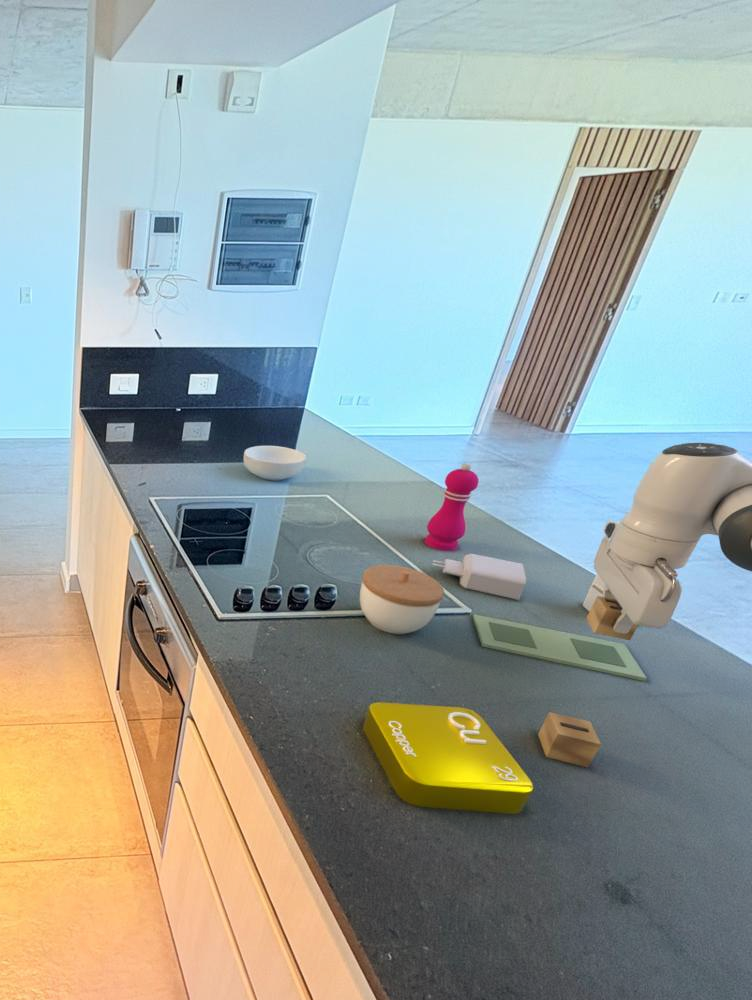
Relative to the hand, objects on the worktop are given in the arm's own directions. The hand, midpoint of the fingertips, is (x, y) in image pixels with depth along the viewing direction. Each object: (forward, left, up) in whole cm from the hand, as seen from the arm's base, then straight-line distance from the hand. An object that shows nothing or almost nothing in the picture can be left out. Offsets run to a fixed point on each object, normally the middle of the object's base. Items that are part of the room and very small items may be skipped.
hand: (612, 620), depth 101 cm
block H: (0, 0, -2) cm, 2 cm away
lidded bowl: (+31, +4, -8) cm, 32 cm away
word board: (+6, 0, -7) cm, 9 cm away
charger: (+15, -20, -8) cm, 26 cm away
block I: (+11, +29, -7) cm, 31 cm away
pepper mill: (+19, -36, -8) cm, 42 cm away
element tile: (+27, +39, -8) cm, 48 cm away
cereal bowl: (+59, -67, -8) cm, 90 cm away
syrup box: (-6, -16, -8) cm, 19 cm away
